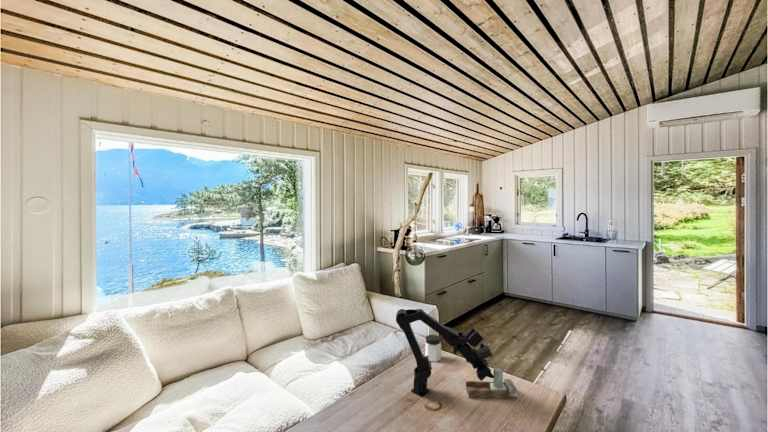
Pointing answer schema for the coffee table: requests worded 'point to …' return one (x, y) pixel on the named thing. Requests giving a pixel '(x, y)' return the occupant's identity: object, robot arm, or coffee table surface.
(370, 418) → the coffee table surface
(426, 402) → the coffee table surface
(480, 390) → the brown wooden open box
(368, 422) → the coffee table surface
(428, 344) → the jar
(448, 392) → the coffee table surface
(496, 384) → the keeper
